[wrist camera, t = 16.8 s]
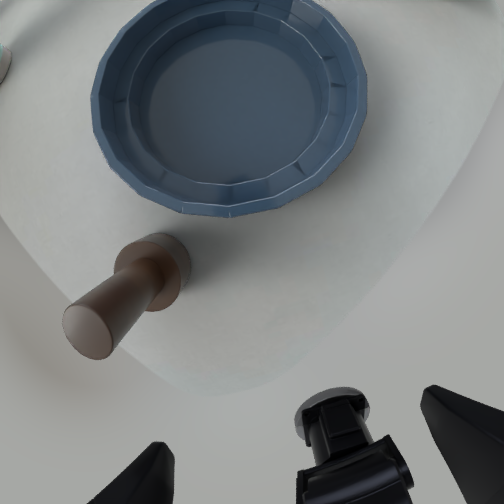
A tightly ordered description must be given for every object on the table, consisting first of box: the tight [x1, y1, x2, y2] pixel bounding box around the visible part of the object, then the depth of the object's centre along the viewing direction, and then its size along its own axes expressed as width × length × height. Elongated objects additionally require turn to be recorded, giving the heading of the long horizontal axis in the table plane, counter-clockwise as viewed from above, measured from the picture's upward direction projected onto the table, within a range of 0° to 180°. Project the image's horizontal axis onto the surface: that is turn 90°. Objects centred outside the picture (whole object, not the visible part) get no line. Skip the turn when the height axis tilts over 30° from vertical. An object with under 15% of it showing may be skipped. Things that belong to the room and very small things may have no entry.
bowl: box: [90, 0, 367, 218], centre depth 14 cm, size 15×15×4 cm
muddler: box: [63, 233, 191, 360], centre depth 13 cm, size 4×4×10 cm
